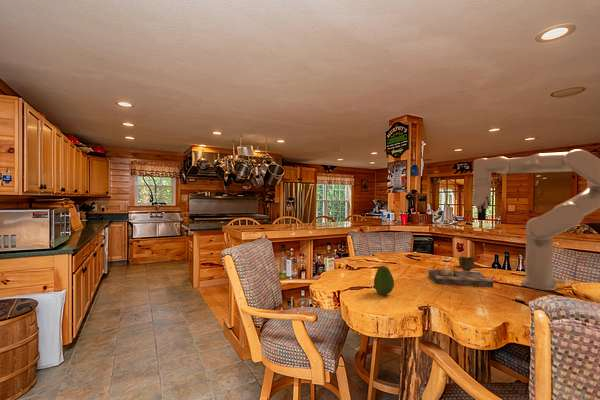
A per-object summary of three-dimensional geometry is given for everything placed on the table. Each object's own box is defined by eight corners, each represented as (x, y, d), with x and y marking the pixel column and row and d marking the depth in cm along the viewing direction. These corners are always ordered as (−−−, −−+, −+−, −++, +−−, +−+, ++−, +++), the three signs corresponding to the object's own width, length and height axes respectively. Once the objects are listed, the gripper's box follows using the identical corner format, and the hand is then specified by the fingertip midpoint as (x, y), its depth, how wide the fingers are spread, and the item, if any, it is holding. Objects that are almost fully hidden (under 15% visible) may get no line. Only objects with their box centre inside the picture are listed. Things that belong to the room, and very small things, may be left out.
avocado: (373, 296, 117) (373, 267, 117) (373, 290, 124) (374, 262, 124) (394, 298, 115) (394, 268, 115) (393, 292, 122) (393, 264, 122)
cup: (477, 274, 152) (477, 259, 152) (463, 274, 152) (463, 259, 152) (469, 270, 160) (469, 256, 159) (455, 270, 160) (456, 256, 160)
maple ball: (435, 274, 145) (447, 280, 144) (439, 277, 139) (450, 284, 138) (442, 264, 144) (453, 270, 143) (446, 267, 138) (458, 274, 137)
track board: (479, 278, 145) (479, 271, 145) (493, 287, 131) (493, 279, 131) (428, 275, 149) (428, 269, 149) (436, 283, 135) (436, 276, 135)
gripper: (468, 184, 153) (467, 218, 153) (480, 182, 138) (480, 221, 138) (483, 184, 152) (483, 219, 152) (497, 182, 137) (497, 221, 137)
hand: (481, 220), depth 145 cm, fingers closed
